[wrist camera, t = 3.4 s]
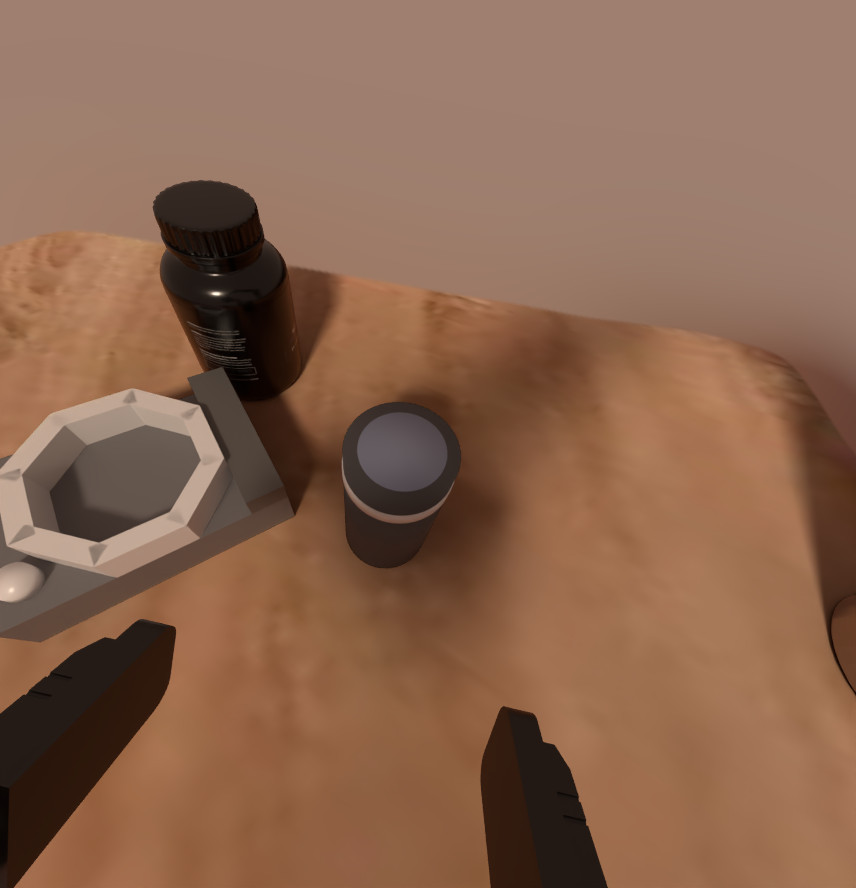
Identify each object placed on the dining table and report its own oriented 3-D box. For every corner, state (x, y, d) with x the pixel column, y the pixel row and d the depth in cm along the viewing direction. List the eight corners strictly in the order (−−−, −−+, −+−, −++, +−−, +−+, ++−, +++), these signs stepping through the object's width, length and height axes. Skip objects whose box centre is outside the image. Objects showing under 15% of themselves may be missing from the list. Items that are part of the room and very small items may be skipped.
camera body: (240, 410, 28) (220, 361, 24) (294, 516, 25) (282, 481, 20) (9, 494, 23) (-71, 450, 18) (40, 642, 19) (-48, 631, 15)
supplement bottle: (321, 367, 31) (306, 213, 21) (249, 419, 28) (189, 266, 17) (260, 321, 32) (218, 156, 22) (184, 365, 29) (94, 194, 19)
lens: (399, 478, 27) (420, 385, 19) (440, 542, 25) (485, 471, 17) (330, 513, 25) (319, 427, 17) (370, 585, 23) (380, 530, 15)
